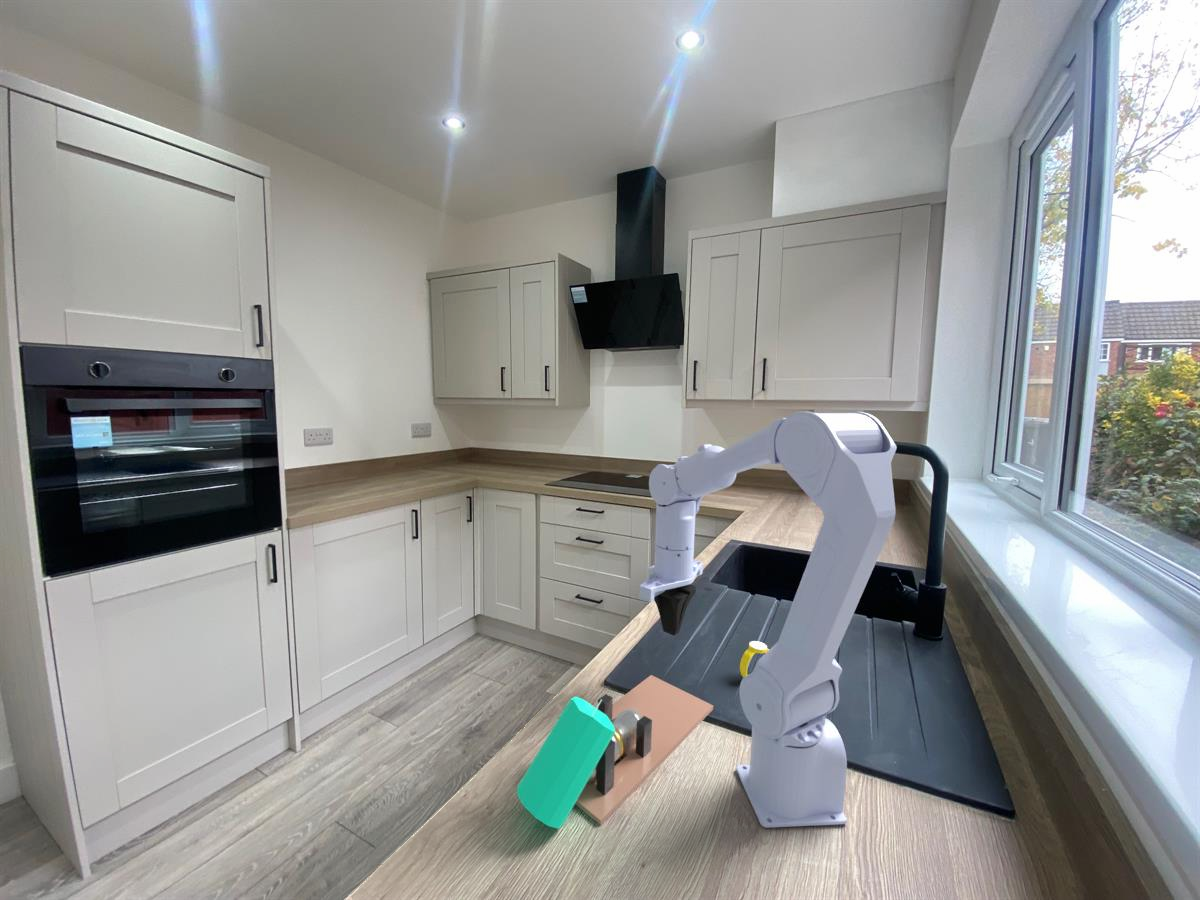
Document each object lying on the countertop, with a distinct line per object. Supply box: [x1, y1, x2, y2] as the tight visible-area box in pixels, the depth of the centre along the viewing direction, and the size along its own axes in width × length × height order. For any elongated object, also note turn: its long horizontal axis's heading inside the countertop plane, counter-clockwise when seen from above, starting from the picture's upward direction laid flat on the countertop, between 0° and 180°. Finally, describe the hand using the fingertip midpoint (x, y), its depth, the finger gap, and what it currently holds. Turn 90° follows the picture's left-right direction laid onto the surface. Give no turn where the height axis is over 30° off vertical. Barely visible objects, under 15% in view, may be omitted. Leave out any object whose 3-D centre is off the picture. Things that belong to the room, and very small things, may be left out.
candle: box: [516, 696, 615, 830], centre depth 51 cm, size 6×6×12 cm
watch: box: [739, 640, 770, 678], centre depth 75 cm, size 6×3×6 cm, turn 117°
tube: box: [587, 709, 642, 782], centre depth 57 cm, size 12×4×4 cm, turn 142°
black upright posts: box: [557, 693, 652, 796], centre depth 57 cm, size 9×8×6 cm
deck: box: [574, 674, 714, 826], centre depth 62 cm, size 25×11×1 cm, turn 139°
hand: (670, 631), depth 70 cm, fingers closed
